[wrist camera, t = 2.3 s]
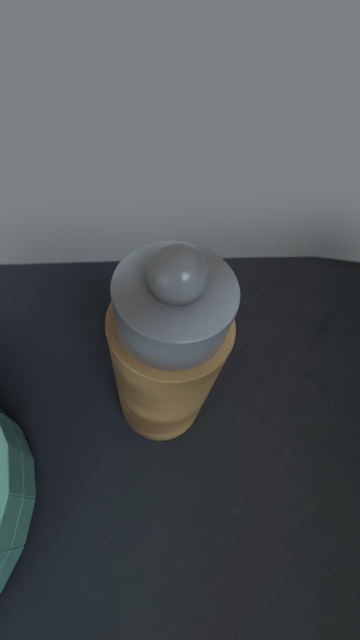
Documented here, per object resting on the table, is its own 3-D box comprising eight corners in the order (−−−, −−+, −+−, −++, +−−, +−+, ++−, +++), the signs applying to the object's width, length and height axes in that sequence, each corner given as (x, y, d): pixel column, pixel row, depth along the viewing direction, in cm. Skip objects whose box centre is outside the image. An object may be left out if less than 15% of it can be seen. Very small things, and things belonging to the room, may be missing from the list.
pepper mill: (214, 410, 21) (303, 278, 9) (148, 458, 19) (154, 365, 7) (170, 351, 23) (198, 181, 11) (107, 388, 21) (60, 229, 9)
